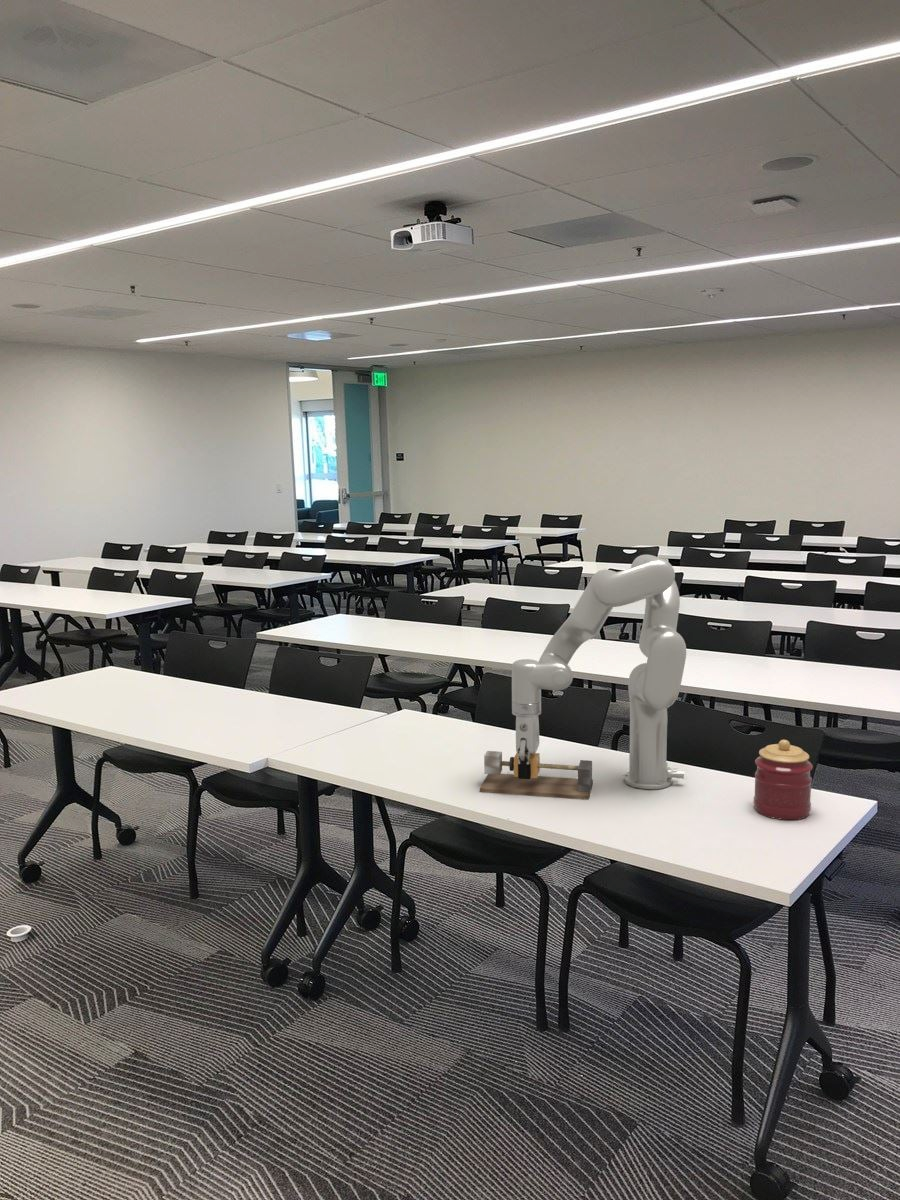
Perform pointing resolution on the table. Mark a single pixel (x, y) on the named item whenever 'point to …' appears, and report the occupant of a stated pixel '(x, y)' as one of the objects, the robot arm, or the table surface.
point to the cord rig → (536, 780)
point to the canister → (783, 781)
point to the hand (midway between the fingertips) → (526, 772)
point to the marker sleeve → (533, 761)
